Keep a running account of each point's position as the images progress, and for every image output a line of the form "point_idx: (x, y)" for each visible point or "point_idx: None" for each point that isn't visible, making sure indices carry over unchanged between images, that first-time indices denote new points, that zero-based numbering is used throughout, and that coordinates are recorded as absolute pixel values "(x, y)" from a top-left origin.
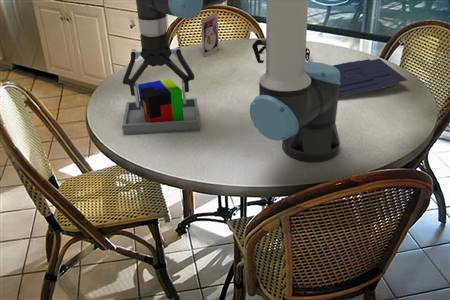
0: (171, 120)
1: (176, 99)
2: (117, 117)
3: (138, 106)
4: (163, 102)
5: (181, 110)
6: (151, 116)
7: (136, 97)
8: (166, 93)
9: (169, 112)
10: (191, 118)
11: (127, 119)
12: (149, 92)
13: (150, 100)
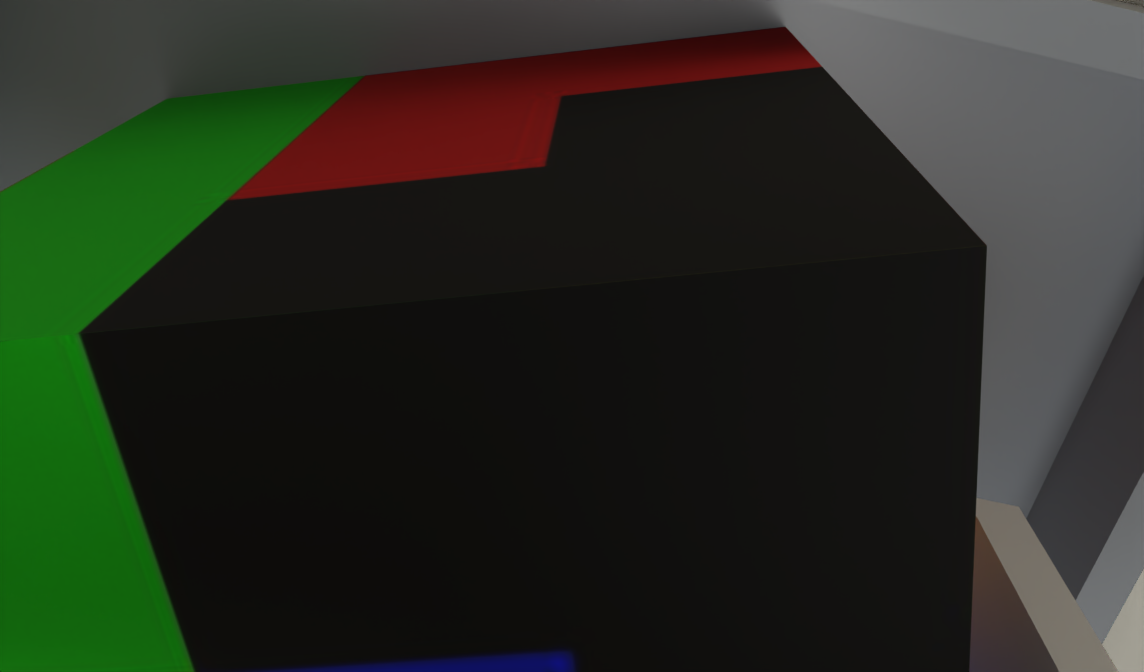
0: (377, 89)
1: (43, 249)
2: (1140, 628)
3: (982, 505)
4: (437, 204)
5: (92, 155)
6: (795, 77)
7: (1083, 664)
8: (238, 326)
9: (363, 131)
10: (27, 174)
11: (1114, 419)
12: (804, 593)
13: (859, 209)
